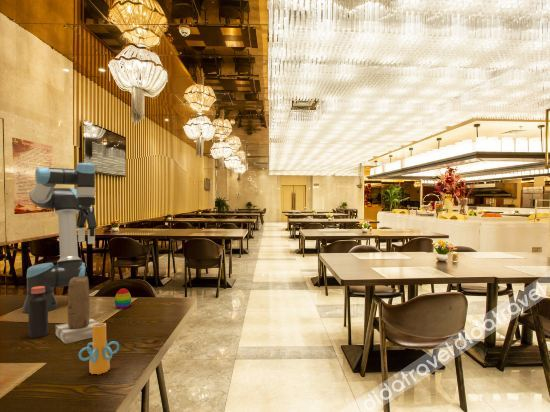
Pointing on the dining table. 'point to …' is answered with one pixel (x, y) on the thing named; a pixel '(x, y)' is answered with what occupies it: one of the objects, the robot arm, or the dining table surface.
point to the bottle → (38, 312)
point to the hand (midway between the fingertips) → (86, 242)
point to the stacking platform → (74, 332)
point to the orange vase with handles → (99, 350)
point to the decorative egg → (122, 298)
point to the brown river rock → (78, 302)
